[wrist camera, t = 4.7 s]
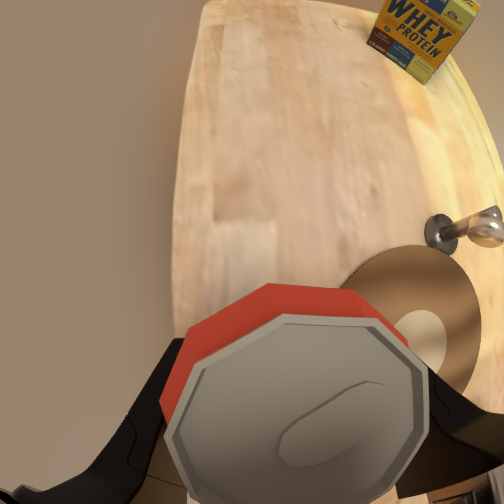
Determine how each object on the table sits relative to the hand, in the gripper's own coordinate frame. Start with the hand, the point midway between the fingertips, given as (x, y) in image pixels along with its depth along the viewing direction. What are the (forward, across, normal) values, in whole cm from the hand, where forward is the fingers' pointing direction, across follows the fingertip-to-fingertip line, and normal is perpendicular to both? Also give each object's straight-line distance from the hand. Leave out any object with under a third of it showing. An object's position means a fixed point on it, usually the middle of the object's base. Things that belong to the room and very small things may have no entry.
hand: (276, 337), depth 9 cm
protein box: (+34, -28, -16) cm, 47 cm away
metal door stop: (+13, -20, +6) cm, 24 cm away
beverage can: (+4, 0, +6) cm, 7 cm away
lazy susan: (+5, -14, +13) cm, 20 cm away
